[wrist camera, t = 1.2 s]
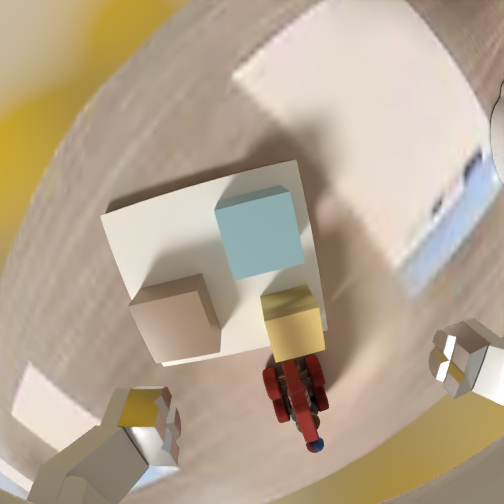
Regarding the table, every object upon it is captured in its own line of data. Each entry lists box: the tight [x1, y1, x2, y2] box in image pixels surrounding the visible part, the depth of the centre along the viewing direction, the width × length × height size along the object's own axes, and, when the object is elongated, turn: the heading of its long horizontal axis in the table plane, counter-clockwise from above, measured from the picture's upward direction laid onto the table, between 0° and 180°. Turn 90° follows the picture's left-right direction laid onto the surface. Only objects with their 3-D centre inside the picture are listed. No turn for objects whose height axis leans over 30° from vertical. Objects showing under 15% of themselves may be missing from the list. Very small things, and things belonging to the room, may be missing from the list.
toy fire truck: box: [263, 355, 329, 453], centre depth 31 cm, size 7×12×10 cm, turn 16°
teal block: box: [214, 185, 305, 281], centre depth 26 cm, size 6×6×5 cm
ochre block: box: [260, 284, 325, 363], centre depth 29 cm, size 5×5×5 cm
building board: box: [100, 160, 328, 366], centre depth 28 cm, size 20×19×5 cm
